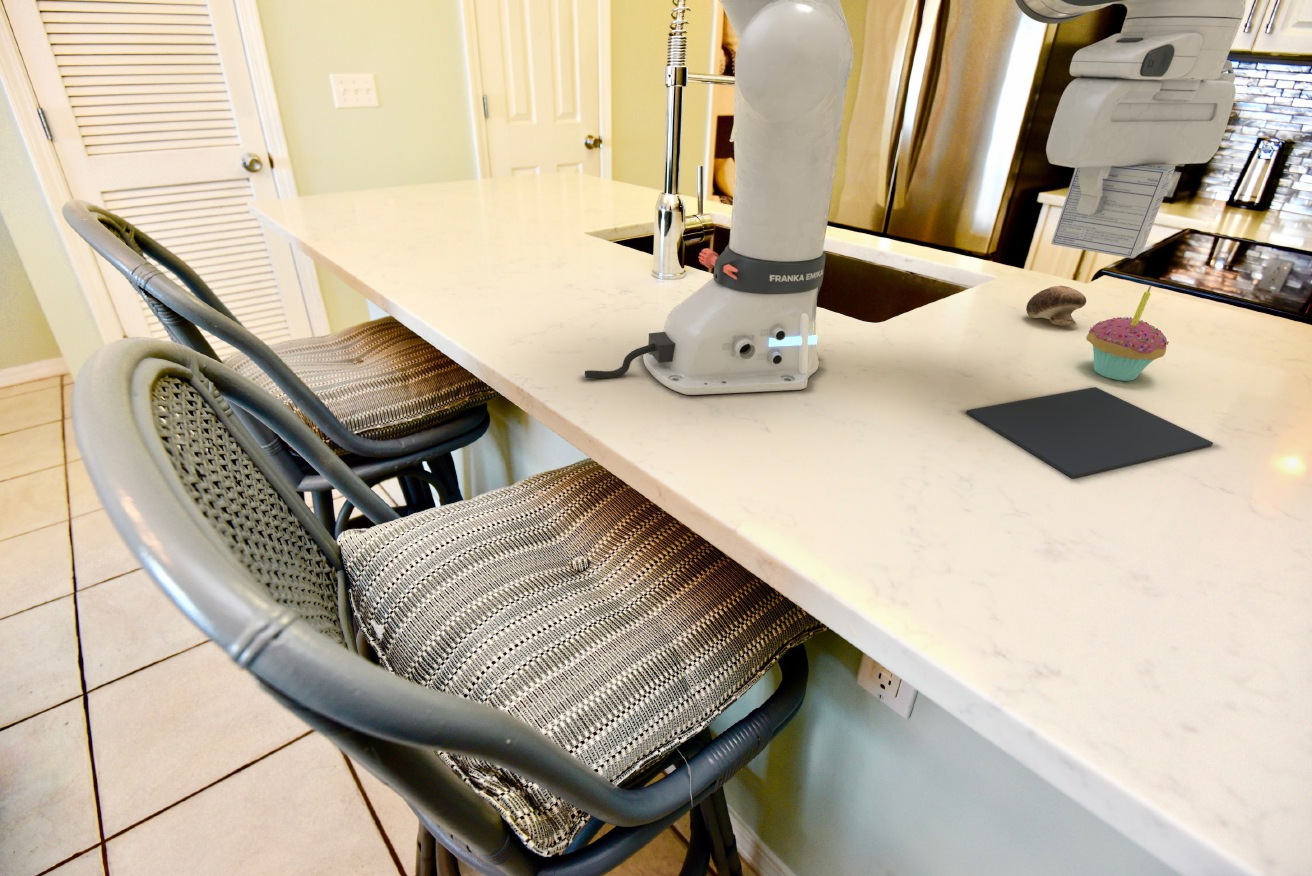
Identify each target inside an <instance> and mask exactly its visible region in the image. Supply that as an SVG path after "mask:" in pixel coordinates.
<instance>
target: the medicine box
mask: <svg viewBox="0 0 1312 876" xmlns="http://www.w3.org/2000/svg"><path fill="white" fill-rule="evenodd" d="M1080 169H1081V168H1074V171H1073V174H1072V178H1071V181H1070V184H1069V187H1068V189H1067V193H1066V196H1065V199H1064V201H1063V204H1062V207H1061V208H1062V209H1061V211H1060V215H1059V218H1058V220H1057V224H1056V227H1055V230H1054V232H1053V236H1052V239H1051V242H1050V244H1051V245H1053V246H1060V247H1066V248H1071V249H1076V250H1082V251H1088V252H1093V253H1098V254H1099V253H1100V254H1105V255H1109V256H1115V257H1121V258H1128V259H1134V258H1136V257H1137V256H1138V255H1140V254H1141V253H1142V252H1143V251H1144V249H1145V247H1146V244H1147V242H1148V239H1149V237H1150V234H1151V231H1152V229H1153V226H1154V223H1155V220H1156V218H1157V216H1158V213H1159V211H1160V208H1161V205H1162V203H1163V200H1164V199H1165V195H1166V192H1167V190H1168V187H1169V185H1170V182H1171V180H1172V177H1173V174H1174V172H1175V170H1176V166H1175V167H1174V165H1168V164H1152V165H1138V166H1112V167H1111V169H1110V172H1109V175H1108V177H1107V178H1106V179H1103V187H1102V195H1103V196H1107V199H1106V202H1105V204H1104V205H1103V210H1102V212H1101V213H1099V214H1091V215H1087V214H1083V213H1079V212H1078V211H1077V206H1078V203H1079V200H1080V197H1081V191H1080V184H1079V177H1078V175H1079V172H1080Z"/></svg>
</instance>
